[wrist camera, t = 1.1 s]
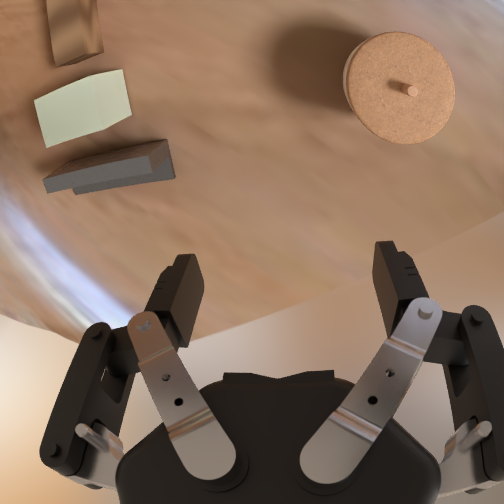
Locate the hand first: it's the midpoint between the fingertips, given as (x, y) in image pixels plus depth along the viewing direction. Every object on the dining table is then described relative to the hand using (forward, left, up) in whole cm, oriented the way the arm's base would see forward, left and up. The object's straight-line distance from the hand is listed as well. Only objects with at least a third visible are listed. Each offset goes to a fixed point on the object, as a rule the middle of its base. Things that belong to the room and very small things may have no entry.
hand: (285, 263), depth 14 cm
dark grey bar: (+2, -22, -24) cm, 32 cm away
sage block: (-8, -22, -24) cm, 33 cm away
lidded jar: (-6, +11, -24) cm, 27 cm away
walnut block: (-20, -22, -24) cm, 38 cm away
